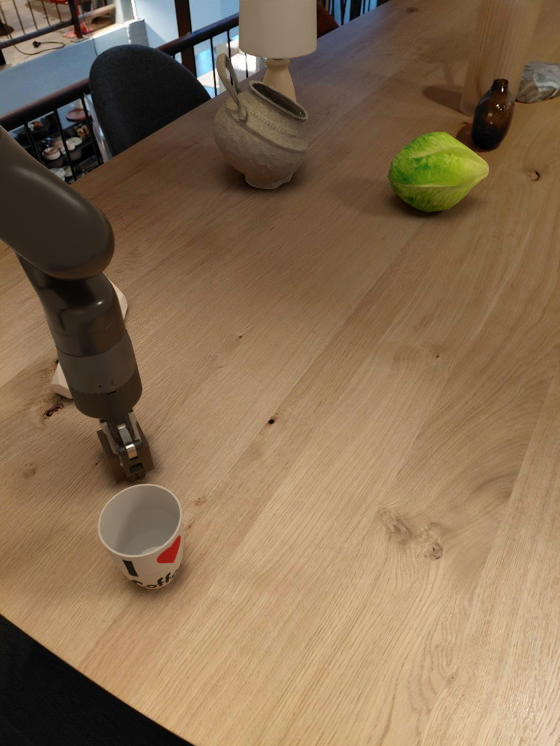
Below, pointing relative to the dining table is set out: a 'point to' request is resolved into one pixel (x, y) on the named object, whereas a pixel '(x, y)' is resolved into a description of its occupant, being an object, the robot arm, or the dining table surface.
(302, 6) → the lamp
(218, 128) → the pot
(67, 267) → the robot arm
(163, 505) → the cup
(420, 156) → the lettuce
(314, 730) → the dining table surface
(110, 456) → the walnut block
